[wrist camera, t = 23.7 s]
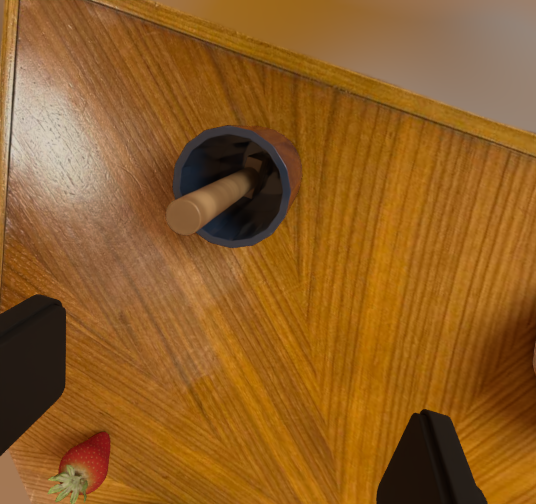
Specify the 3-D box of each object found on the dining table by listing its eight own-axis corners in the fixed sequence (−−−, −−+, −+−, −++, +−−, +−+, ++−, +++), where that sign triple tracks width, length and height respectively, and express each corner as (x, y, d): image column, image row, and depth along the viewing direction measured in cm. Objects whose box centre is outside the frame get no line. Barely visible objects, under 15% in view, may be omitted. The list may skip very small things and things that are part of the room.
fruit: (133, 433, 43) (91, 497, 36) (118, 460, 45) (75, 526, 38) (95, 412, 43) (45, 471, 36) (82, 439, 45) (32, 501, 38)
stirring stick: (253, 152, 30) (172, 177, 15) (271, 158, 30) (208, 190, 15) (243, 187, 31) (158, 243, 16) (261, 193, 31) (192, 255, 16)
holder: (223, 117, 30) (180, 114, 21) (311, 137, 29) (302, 142, 21) (210, 204, 32) (166, 231, 24) (291, 224, 32) (275, 259, 23)
